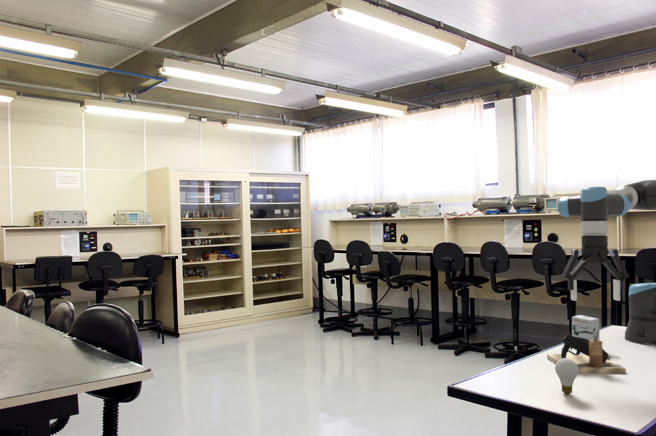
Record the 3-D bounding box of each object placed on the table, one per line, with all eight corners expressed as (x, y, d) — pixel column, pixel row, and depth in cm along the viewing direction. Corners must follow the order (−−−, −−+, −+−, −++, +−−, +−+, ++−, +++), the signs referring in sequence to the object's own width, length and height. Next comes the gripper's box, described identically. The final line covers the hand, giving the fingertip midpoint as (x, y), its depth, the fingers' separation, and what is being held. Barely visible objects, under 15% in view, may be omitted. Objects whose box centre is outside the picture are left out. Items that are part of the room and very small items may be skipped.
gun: (600, 380, 164) (614, 353, 164) (556, 357, 165) (569, 330, 165) (596, 377, 167) (610, 350, 167) (552, 354, 168) (566, 328, 168)
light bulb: (558, 389, 143) (558, 354, 143) (581, 393, 140) (580, 358, 140) (552, 395, 139) (552, 359, 139) (575, 399, 135) (575, 362, 135)
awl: (604, 367, 159) (604, 333, 159) (592, 367, 159) (592, 333, 160) (598, 364, 163) (598, 330, 163) (587, 364, 163) (586, 330, 163)
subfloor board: (599, 358, 175) (599, 354, 175) (625, 373, 158) (625, 368, 158) (547, 358, 176) (547, 353, 176) (568, 372, 159) (567, 367, 159)
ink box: (571, 346, 193) (570, 315, 193) (580, 345, 195) (579, 314, 195) (591, 351, 185) (591, 319, 185) (600, 350, 187) (600, 318, 187)
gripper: (627, 234, 165) (628, 298, 165) (550, 234, 166) (551, 298, 166) (640, 234, 157) (641, 301, 157) (560, 235, 159) (560, 301, 158)
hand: (595, 300), depth 161 cm, fingers open, 13 cm apart
